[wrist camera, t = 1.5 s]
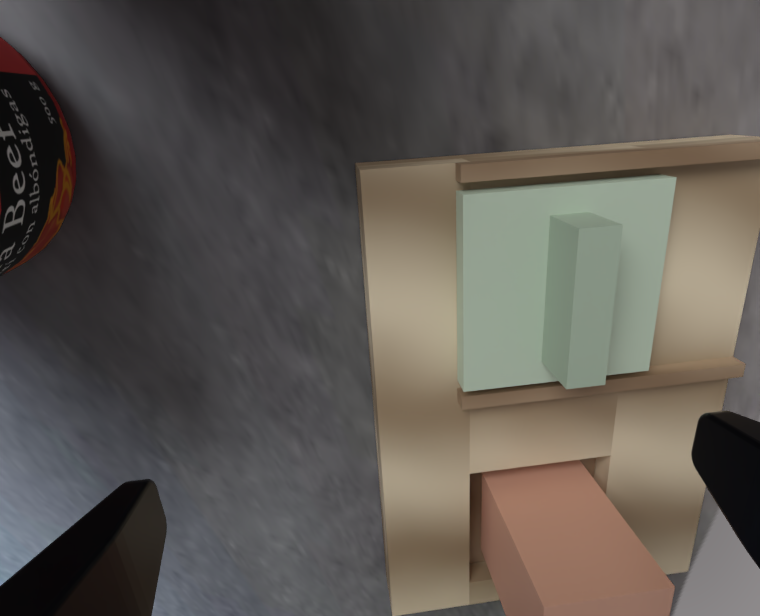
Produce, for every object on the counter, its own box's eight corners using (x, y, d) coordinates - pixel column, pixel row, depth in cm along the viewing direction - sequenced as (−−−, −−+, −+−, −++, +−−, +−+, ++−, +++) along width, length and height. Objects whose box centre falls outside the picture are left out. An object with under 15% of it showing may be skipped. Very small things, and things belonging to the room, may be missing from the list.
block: (571, 536, 22) (657, 678, 17) (480, 549, 22) (536, 698, 16) (579, 459, 21) (674, 586, 15) (482, 471, 21) (544, 607, 15)
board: (659, 536, 25) (697, 583, 22) (386, 576, 23) (394, 629, 21) (730, 134, 18) (795, 139, 16) (355, 163, 17) (361, 172, 14)
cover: (635, 359, 18) (683, 398, 16) (457, 380, 18) (479, 422, 15) (659, 174, 16) (720, 186, 14) (456, 190, 15) (482, 206, 13)
